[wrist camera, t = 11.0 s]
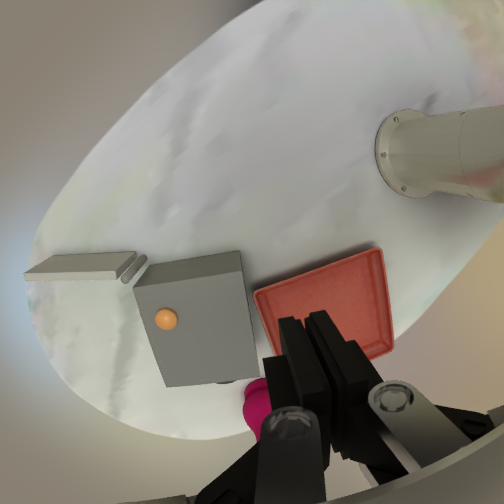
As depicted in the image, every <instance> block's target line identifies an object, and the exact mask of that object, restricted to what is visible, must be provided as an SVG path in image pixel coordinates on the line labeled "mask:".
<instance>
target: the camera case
mask: <svg viewBox="0 0 504 504" xmlns="http://www.w3.org/2000/svg"><path fill="white" fill-rule="evenodd" d="M133 291H134V295H135V298H136V301H137V305H138V308H139V311H140V314H141V318H142V321H143V324H144V327H145V330H146V333H147V336H148V339H149V342H150V345H151V347H152V350H153V353H154V356H155V359H156V361H157V364H158V367H159V369H160V372H161V375H162V377H163V380H164V382H165V385H166V387H179V386H190V385H200V384H209V383H217V384H228V383H232V382H234V381H236V380H241V379H248V378H254V377H260V372H259V366H258V359H257V353H256V346H255V340H254V334H253V328H252V323H251V317H250V311H249V305H248V299H247V294H246V288H245V282H244V276H243V270H242V264H241V258H240V252H239V251H233V252H227V253H221V254H214V255H208V256H202V257H196V258H190V259H184V260H178V261H172V262H166V263H160V264H154V265H149V267H148V268H147V269H146V271H145V272H144V273H143V275H142V276H141V277H140V279H139V280H138V281H137V282H136V284H135V285H134V286H133Z"/></svg>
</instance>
